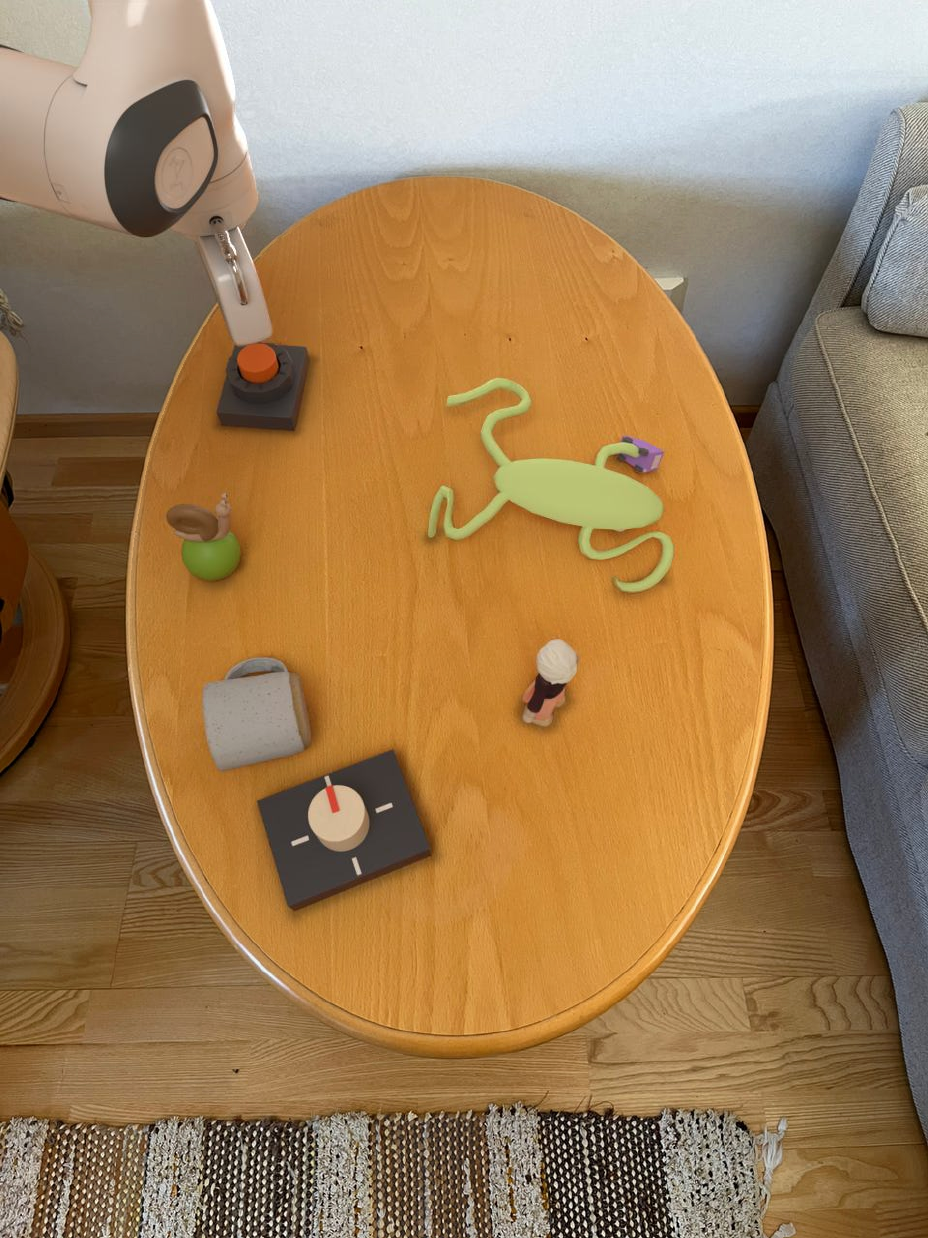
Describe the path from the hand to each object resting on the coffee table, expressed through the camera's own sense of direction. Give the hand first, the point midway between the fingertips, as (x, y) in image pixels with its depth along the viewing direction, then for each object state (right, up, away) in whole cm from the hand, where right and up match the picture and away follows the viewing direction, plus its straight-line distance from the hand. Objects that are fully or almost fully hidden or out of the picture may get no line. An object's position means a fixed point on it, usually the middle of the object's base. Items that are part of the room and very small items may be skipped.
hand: (238, 311), depth 82 cm
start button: (0, -4, +7) cm, 8 cm away
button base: (0, -5, +10) cm, 12 cm away
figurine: (+31, -18, +5) cm, 36 cm away
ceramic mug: (+4, -39, -6) cm, 40 cm away
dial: (+12, -47, -14) cm, 50 cm away
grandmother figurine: (+29, -38, -6) cm, 49 cm away
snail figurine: (-2, -25, +1) cm, 25 cm away
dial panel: (+12, -48, -11) cm, 51 cm away
